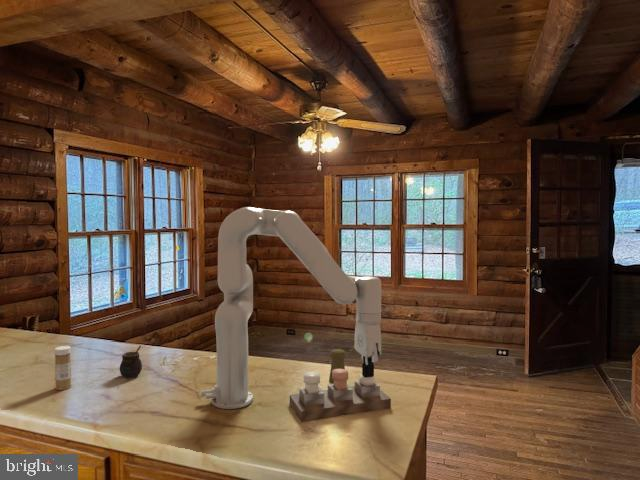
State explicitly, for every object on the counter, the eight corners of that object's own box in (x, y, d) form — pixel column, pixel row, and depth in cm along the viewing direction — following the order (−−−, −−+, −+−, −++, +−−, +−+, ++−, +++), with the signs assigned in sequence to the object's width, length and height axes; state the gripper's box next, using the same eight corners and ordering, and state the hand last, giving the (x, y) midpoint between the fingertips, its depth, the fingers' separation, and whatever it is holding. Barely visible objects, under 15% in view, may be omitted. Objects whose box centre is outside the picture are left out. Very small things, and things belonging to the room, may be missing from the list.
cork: (345, 385, 146) (345, 353, 145) (327, 383, 147) (327, 351, 146) (347, 378, 152) (347, 347, 151) (330, 377, 153) (331, 346, 152)
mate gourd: (114, 377, 150) (114, 349, 149) (131, 370, 157) (131, 343, 156) (130, 381, 147) (130, 352, 146) (146, 373, 154) (146, 346, 153)
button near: (306, 395, 123) (306, 378, 122) (301, 389, 127) (301, 373, 127) (322, 393, 124) (322, 376, 124) (316, 387, 129) (316, 371, 129)
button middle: (335, 391, 126) (335, 375, 125) (329, 385, 130) (329, 369, 130) (350, 389, 127) (350, 373, 127) (344, 383, 132) (344, 368, 132)
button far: (363, 395, 129) (363, 379, 129) (356, 389, 133) (356, 374, 133) (377, 393, 131) (377, 378, 130) (370, 387, 135) (370, 372, 135)
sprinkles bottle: (72, 384, 143) (71, 344, 143) (69, 389, 139) (69, 348, 138) (56, 386, 142) (56, 346, 141) (53, 391, 137) (52, 350, 137)
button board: (301, 422, 119) (301, 401, 118) (289, 404, 130) (289, 385, 130) (390, 408, 128) (391, 388, 128) (372, 392, 139) (372, 374, 139)
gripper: (347, 312, 137) (347, 369, 137) (368, 323, 122) (367, 386, 123) (368, 311, 139) (368, 366, 140) (391, 321, 125) (390, 383, 126)
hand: (368, 376), depth 132 cm, fingers closed
